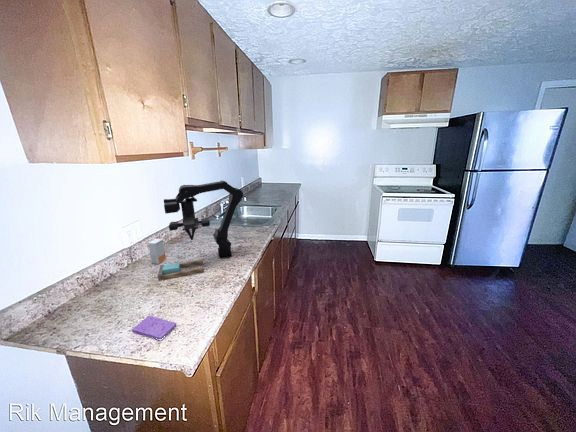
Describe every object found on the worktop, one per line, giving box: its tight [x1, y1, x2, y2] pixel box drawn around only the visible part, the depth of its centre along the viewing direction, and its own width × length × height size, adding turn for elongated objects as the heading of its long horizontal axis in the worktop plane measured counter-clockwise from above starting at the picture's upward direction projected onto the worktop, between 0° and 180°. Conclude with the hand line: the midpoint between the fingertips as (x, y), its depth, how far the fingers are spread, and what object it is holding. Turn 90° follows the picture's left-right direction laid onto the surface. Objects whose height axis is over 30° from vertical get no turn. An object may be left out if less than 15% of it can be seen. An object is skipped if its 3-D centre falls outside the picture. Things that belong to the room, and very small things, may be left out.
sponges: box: [131, 315, 177, 339], centre depth 79 cm, size 7×13×2 cm, turn 72°
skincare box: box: [148, 238, 167, 265], centre depth 123 cm, size 6×4×12 cm
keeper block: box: [162, 262, 182, 275], centre depth 113 cm, size 7×5×4 cm
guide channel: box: [157, 259, 205, 282], centre depth 114 cm, size 20×9×3 cm, turn 111°
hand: (192, 239), depth 120 cm, fingers closed
